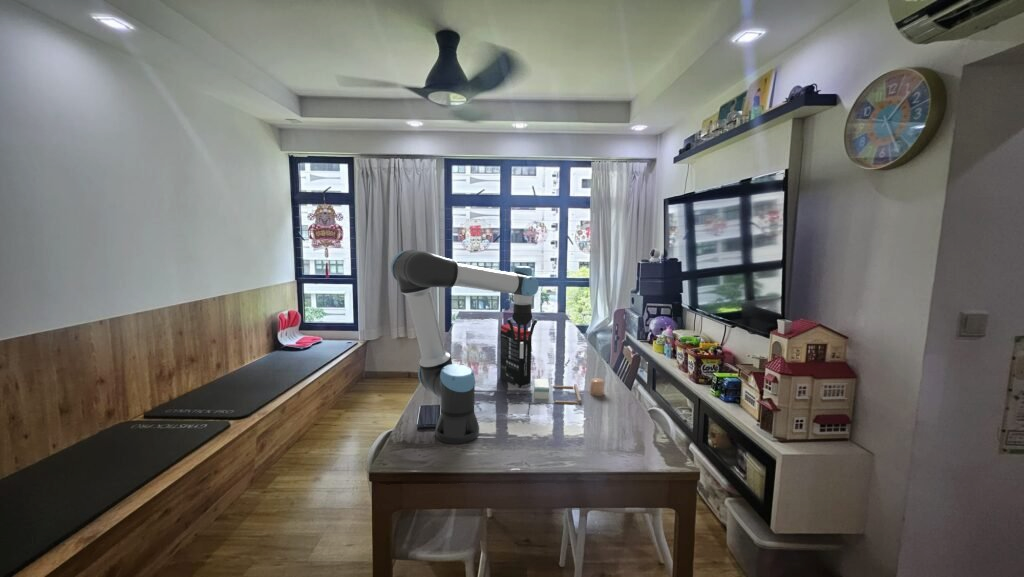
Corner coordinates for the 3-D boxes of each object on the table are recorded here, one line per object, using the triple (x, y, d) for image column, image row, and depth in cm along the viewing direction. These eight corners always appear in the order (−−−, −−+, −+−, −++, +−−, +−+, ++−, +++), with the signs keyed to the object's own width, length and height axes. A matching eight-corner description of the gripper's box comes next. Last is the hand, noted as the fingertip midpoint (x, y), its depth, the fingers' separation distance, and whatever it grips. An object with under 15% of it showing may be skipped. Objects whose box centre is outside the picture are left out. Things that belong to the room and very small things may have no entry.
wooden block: (604, 396, 180) (605, 383, 179) (591, 396, 180) (591, 382, 180) (602, 391, 186) (603, 378, 185) (589, 390, 186) (589, 378, 185)
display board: (580, 407, 168) (581, 400, 167) (531, 405, 169) (532, 398, 168) (576, 390, 186) (576, 384, 185) (531, 389, 187) (532, 382, 186)
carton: (548, 399, 172) (549, 387, 171) (534, 398, 172) (534, 387, 172) (547, 389, 182) (548, 379, 182) (534, 389, 182) (534, 378, 182)
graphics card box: (531, 389, 187) (533, 330, 183) (519, 392, 183) (520, 332, 179) (510, 377, 201) (511, 323, 197) (498, 380, 197) (499, 324, 193)
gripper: (537, 302, 176) (536, 355, 179) (507, 301, 176) (506, 354, 180) (538, 305, 168) (536, 360, 172) (506, 304, 169) (505, 359, 172)
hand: (521, 357), depth 176 cm, fingers closed
